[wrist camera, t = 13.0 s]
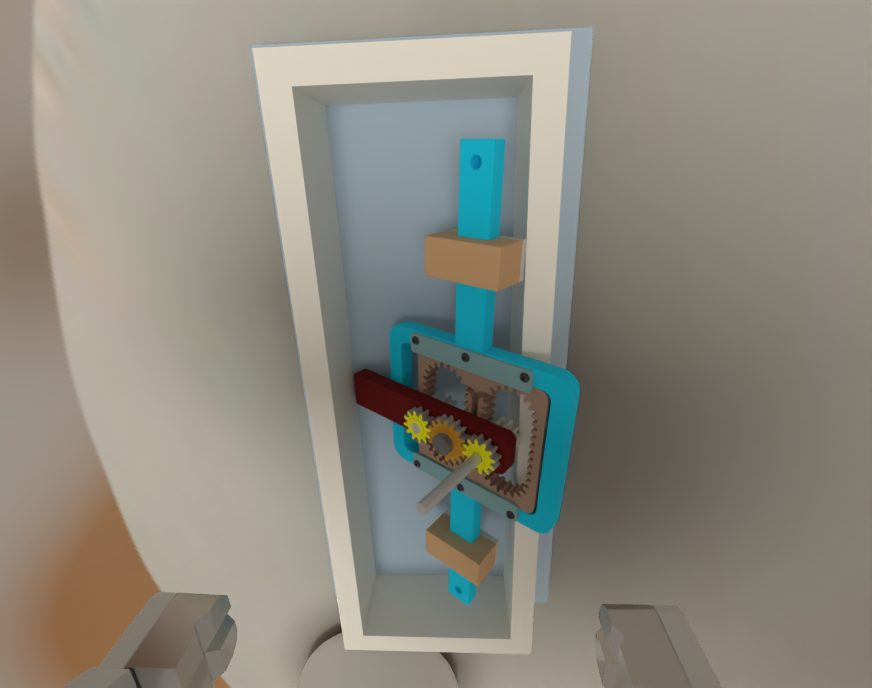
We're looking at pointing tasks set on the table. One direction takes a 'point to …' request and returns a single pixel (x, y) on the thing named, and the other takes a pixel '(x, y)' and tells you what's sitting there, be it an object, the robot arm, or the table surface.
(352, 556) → the white blue rectangular tray
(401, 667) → the cup
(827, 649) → the table surface
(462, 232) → the gear mechanism
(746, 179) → the table surface
